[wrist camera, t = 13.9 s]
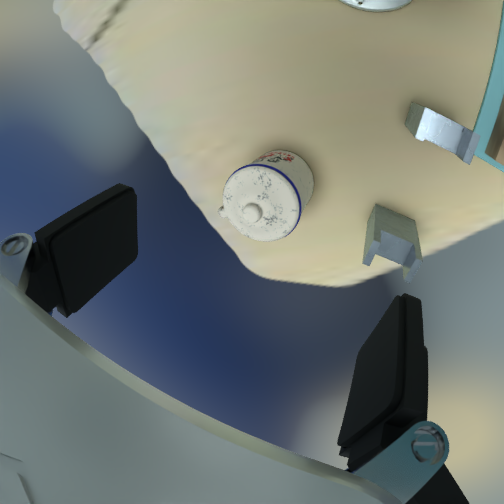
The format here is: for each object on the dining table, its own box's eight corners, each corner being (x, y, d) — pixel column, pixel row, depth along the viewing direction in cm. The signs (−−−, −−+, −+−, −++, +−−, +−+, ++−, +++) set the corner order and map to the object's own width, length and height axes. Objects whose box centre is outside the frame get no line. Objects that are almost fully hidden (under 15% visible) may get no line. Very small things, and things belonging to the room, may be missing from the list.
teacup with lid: (299, 137, 36) (269, 158, 27) (326, 201, 39) (307, 244, 30) (223, 169, 43) (177, 199, 33) (251, 224, 46) (214, 266, 36)
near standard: (411, 102, 29) (425, 107, 21) (454, 122, 27) (480, 135, 20) (404, 124, 30) (415, 137, 22) (447, 144, 29) (469, 164, 21)
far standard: (375, 203, 37) (373, 240, 29) (414, 220, 36) (422, 261, 28) (367, 223, 39) (362, 263, 31) (405, 239, 37) (409, 283, 30)
